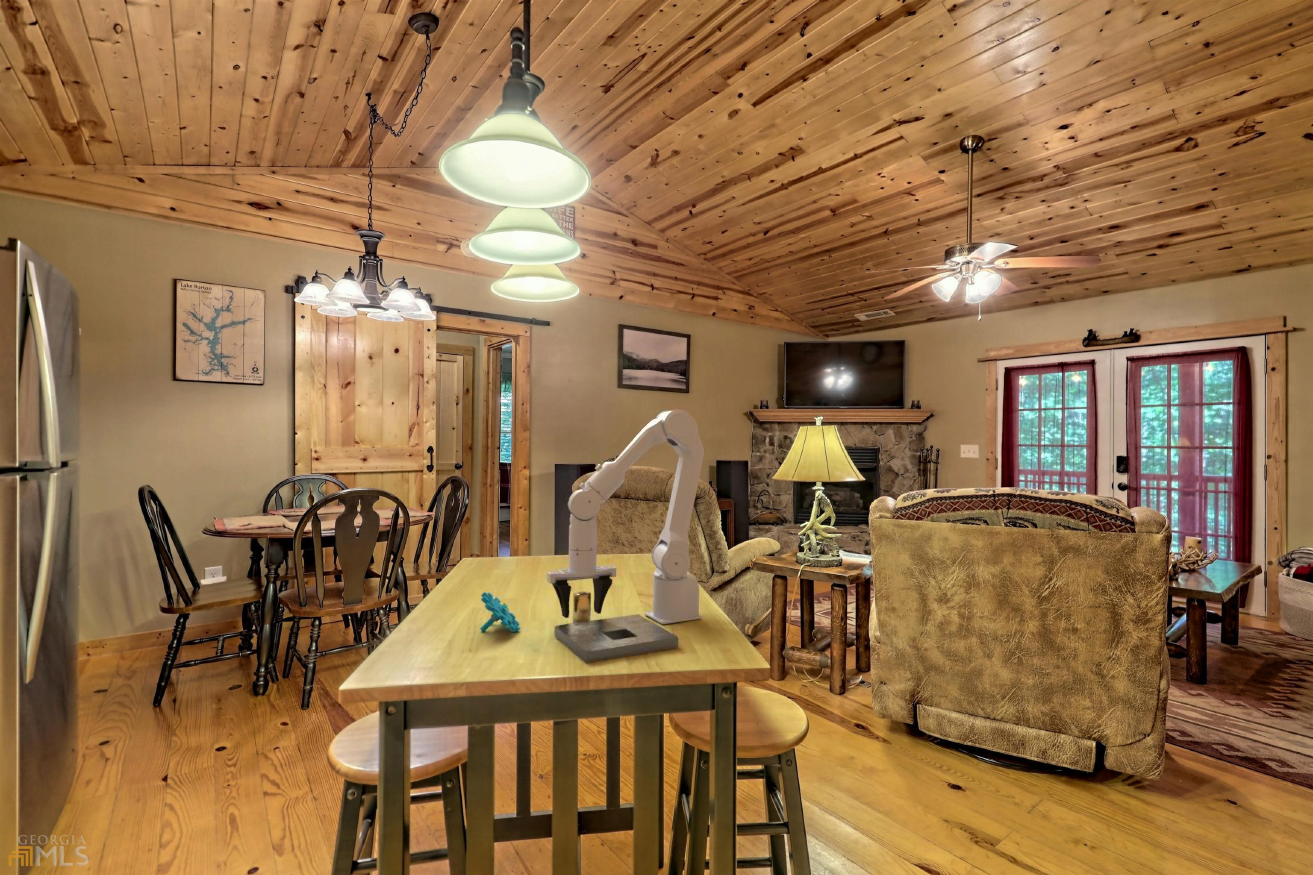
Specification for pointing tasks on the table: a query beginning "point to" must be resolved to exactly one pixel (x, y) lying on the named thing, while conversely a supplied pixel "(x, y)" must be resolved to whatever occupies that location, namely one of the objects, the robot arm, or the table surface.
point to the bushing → (581, 606)
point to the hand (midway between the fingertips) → (581, 614)
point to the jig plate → (614, 638)
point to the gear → (498, 613)
